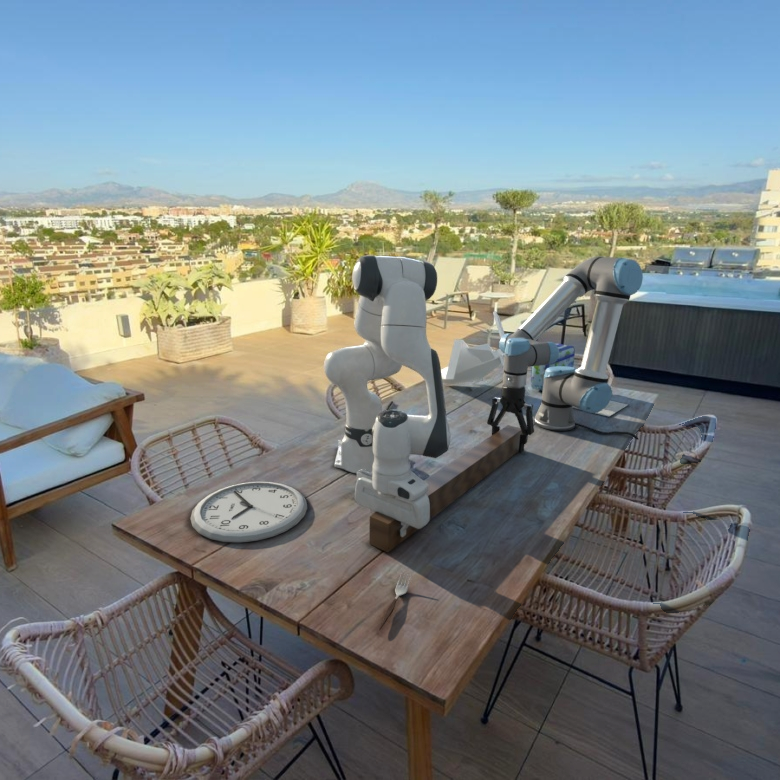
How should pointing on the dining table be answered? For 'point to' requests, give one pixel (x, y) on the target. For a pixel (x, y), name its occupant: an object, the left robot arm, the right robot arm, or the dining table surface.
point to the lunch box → (552, 365)
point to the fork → (399, 591)
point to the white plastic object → (473, 361)
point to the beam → (451, 483)
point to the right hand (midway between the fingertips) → (508, 448)
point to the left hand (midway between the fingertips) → (390, 530)
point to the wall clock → (248, 512)
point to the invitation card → (611, 408)
